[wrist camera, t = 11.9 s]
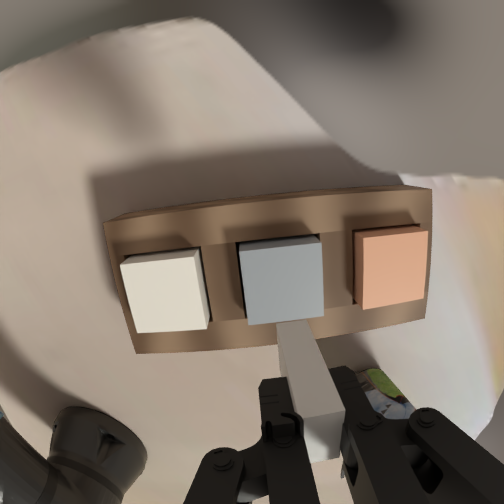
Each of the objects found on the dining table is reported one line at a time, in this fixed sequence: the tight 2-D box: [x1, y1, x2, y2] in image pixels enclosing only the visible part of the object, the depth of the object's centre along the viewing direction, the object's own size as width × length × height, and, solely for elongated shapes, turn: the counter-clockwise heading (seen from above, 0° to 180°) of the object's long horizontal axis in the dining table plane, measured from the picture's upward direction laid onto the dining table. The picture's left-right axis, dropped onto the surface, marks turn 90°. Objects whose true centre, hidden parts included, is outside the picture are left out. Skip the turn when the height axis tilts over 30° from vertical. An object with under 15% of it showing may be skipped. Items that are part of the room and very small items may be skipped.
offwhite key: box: [120, 246, 211, 333], centre depth 24 cm, size 6×6×4 cm
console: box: [103, 185, 432, 354], centre depth 26 cm, size 27×12×5 cm, turn 96°
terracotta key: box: [352, 224, 428, 310], centre depth 24 cm, size 6×6×4 cm
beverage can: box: [356, 369, 416, 419], centre depth 27 cm, size 6×7×12 cm
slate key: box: [239, 234, 324, 325], centre depth 24 cm, size 6×6×4 cm
